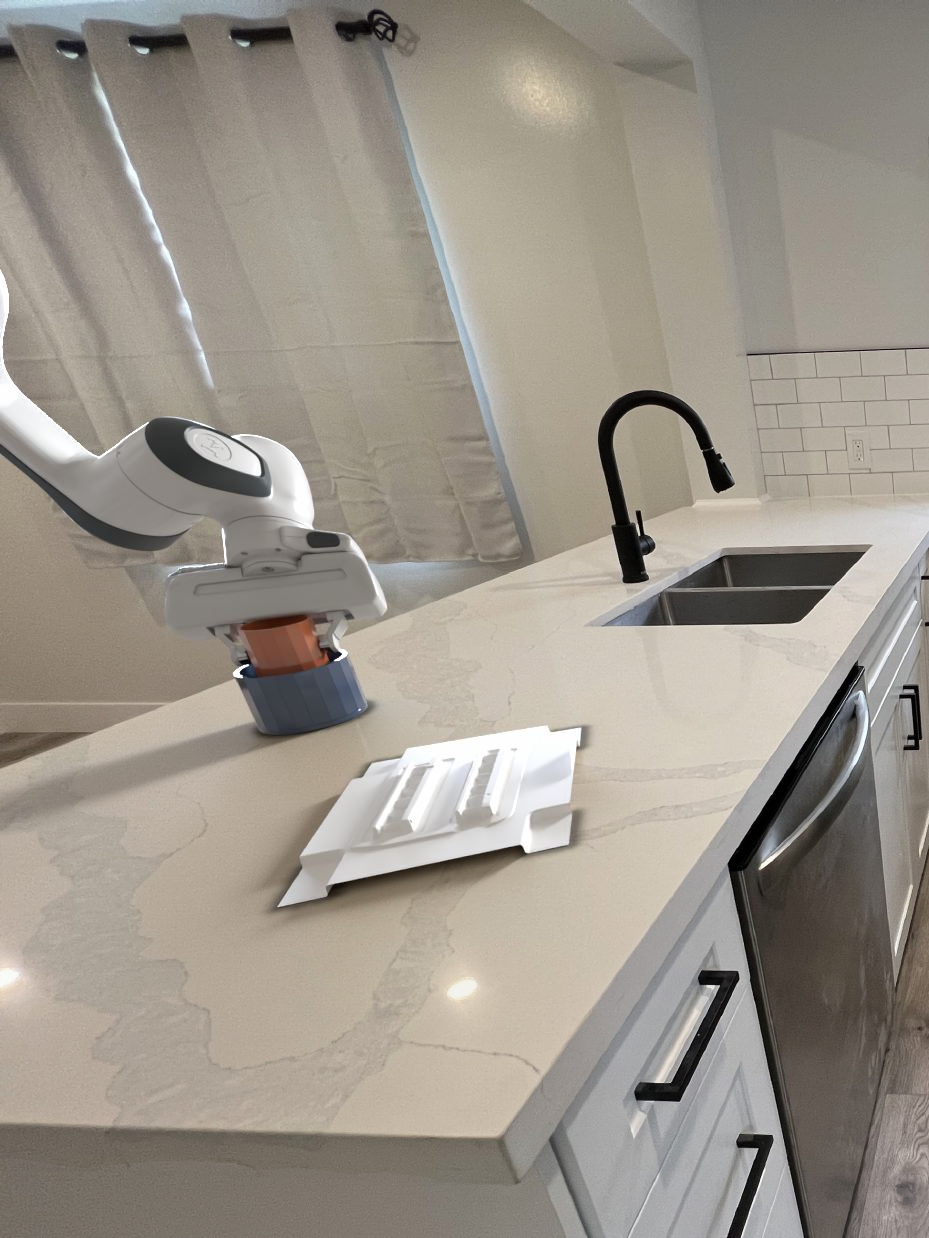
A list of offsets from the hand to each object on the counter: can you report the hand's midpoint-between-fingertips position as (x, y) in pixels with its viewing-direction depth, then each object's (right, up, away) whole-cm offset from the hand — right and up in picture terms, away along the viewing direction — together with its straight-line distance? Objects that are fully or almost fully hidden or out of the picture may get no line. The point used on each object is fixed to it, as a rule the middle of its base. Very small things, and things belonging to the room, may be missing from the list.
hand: (287, 656), depth 93 cm
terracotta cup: (0, -4, +3) cm, 5 cm away
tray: (+32, -16, -17) cm, 39 cm away
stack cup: (0, -7, +4) cm, 8 cm away
